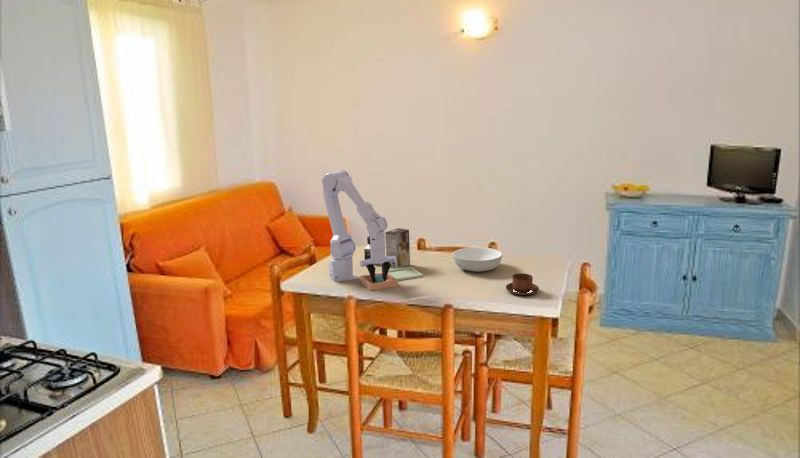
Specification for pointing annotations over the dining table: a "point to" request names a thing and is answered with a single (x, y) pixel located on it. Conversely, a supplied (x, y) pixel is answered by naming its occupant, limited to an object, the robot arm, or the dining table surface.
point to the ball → (378, 278)
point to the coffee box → (398, 247)
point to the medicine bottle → (367, 249)
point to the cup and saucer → (522, 284)
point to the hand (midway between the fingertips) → (378, 281)
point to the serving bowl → (477, 258)
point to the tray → (405, 273)
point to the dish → (385, 284)
